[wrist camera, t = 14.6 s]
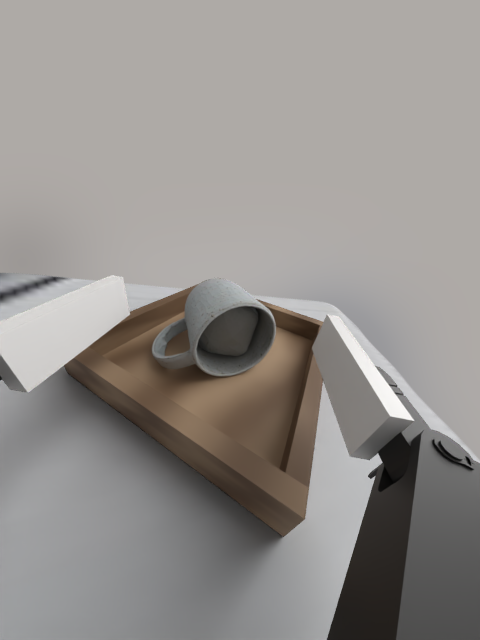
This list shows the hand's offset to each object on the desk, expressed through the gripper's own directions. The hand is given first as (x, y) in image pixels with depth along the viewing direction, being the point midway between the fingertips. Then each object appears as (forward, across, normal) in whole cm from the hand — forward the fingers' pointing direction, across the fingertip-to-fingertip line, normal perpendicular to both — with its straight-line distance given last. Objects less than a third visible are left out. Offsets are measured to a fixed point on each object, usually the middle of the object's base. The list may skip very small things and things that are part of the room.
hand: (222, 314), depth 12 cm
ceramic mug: (+4, -2, -8) cm, 9 cm away
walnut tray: (+5, 0, -9) cm, 10 cm away
